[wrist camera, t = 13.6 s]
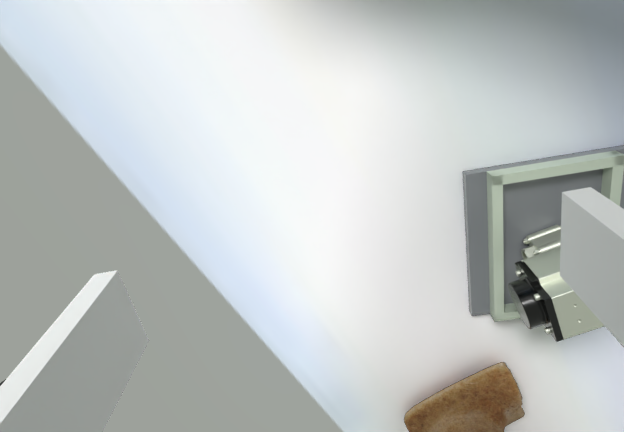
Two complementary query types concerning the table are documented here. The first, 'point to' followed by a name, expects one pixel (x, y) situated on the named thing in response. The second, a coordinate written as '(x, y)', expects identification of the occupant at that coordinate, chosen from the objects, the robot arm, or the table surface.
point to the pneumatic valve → (548, 290)
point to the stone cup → (470, 404)
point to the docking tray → (524, 215)
